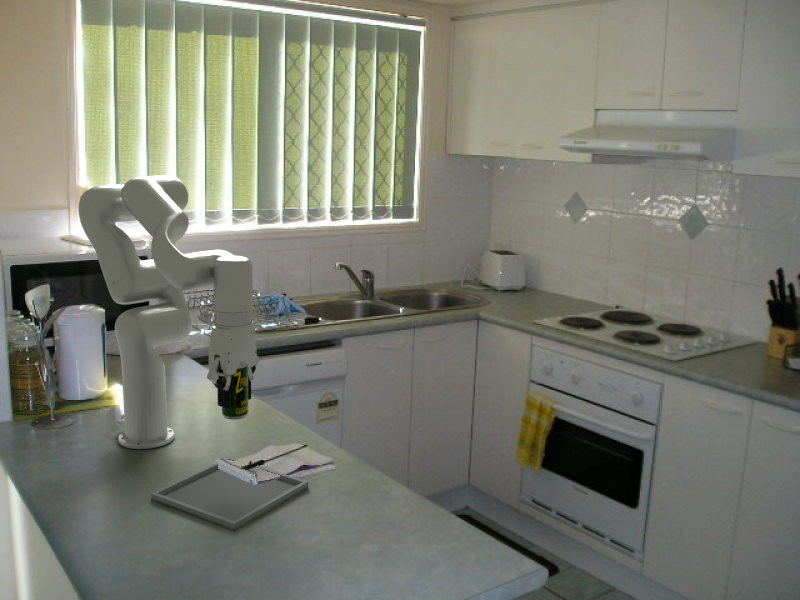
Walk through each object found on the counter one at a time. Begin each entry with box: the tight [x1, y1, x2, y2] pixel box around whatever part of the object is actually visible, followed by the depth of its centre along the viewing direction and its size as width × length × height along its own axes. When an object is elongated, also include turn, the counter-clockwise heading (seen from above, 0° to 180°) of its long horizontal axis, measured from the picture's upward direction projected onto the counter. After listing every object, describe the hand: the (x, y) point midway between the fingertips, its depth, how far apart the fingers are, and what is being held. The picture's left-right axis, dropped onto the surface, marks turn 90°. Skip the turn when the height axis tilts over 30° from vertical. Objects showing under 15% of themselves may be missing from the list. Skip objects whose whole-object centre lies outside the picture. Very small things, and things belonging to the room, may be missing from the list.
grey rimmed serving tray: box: [150, 456, 309, 532], centre depth 167 cm, size 22×22×2 cm
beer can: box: [221, 361, 249, 421], centre depth 170 cm, size 5×5×12 cm
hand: (234, 401), depth 171 cm, fingers closed on beer can, 5 cm apart
